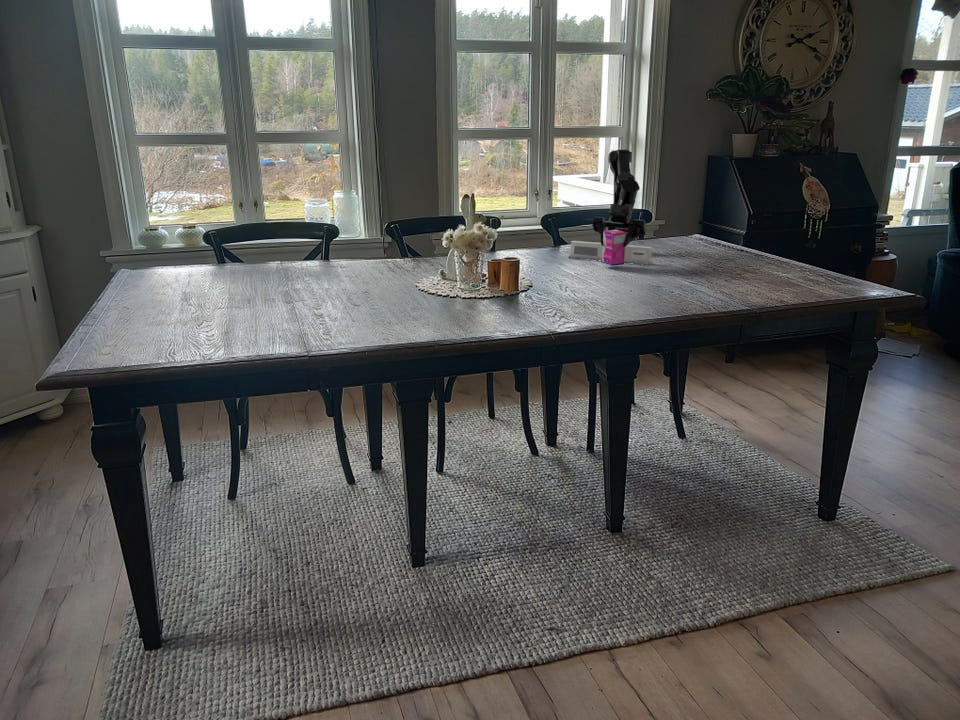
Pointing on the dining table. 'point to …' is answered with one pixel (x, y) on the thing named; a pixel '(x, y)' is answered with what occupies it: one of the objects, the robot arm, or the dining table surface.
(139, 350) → the dining table surface
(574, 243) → the panel
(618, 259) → the supplement box
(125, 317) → the dining table surface
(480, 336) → the dining table surface
